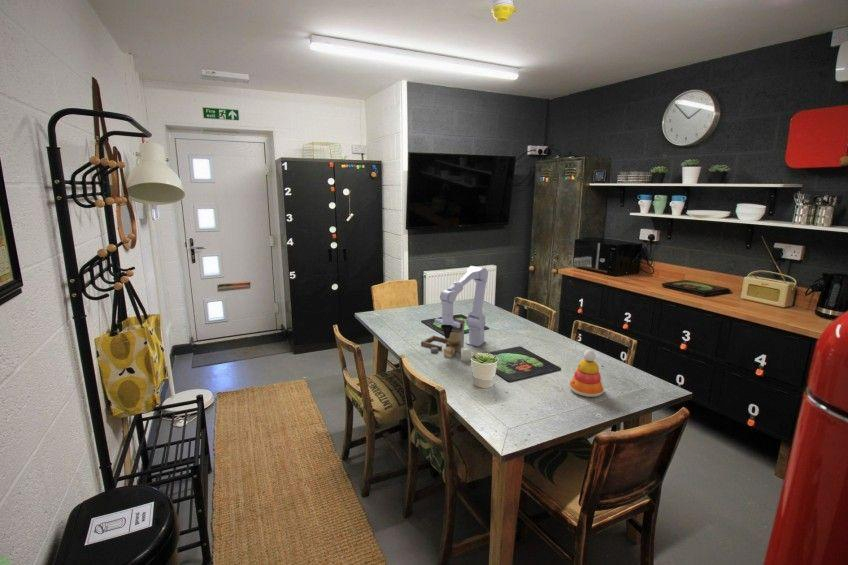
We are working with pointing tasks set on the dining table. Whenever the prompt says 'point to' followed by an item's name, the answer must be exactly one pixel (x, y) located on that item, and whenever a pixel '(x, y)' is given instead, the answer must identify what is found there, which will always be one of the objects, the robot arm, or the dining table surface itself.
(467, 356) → the pale grey rounded cylinder
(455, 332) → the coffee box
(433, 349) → the rubber puck
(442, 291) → the robot arm
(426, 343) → the walnut bay
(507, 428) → the dining table surface
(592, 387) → the stacking toy
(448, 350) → the oak block
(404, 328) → the dining table surface
